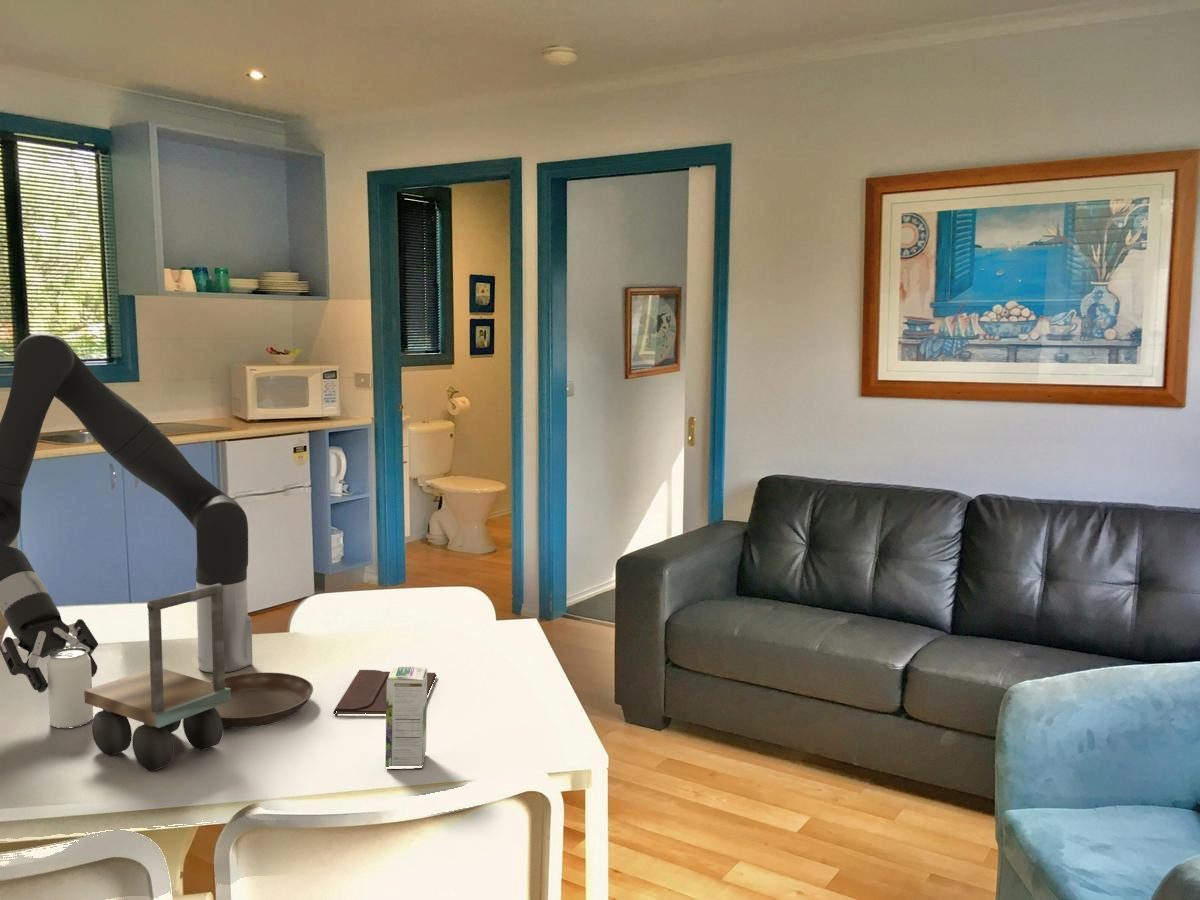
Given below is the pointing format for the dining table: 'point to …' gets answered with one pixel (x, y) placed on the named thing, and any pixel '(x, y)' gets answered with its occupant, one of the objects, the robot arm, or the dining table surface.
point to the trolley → (163, 695)
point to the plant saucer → (263, 699)
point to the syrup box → (406, 716)
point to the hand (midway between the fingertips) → (69, 682)
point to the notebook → (369, 693)
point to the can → (69, 687)
